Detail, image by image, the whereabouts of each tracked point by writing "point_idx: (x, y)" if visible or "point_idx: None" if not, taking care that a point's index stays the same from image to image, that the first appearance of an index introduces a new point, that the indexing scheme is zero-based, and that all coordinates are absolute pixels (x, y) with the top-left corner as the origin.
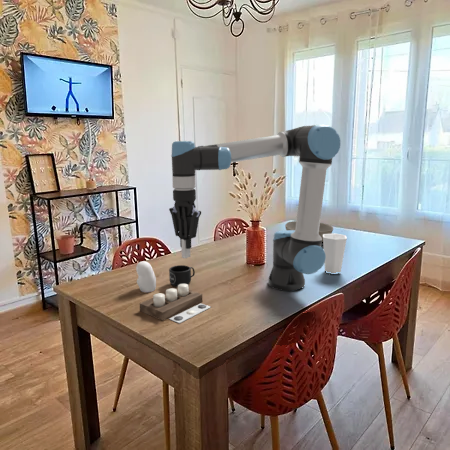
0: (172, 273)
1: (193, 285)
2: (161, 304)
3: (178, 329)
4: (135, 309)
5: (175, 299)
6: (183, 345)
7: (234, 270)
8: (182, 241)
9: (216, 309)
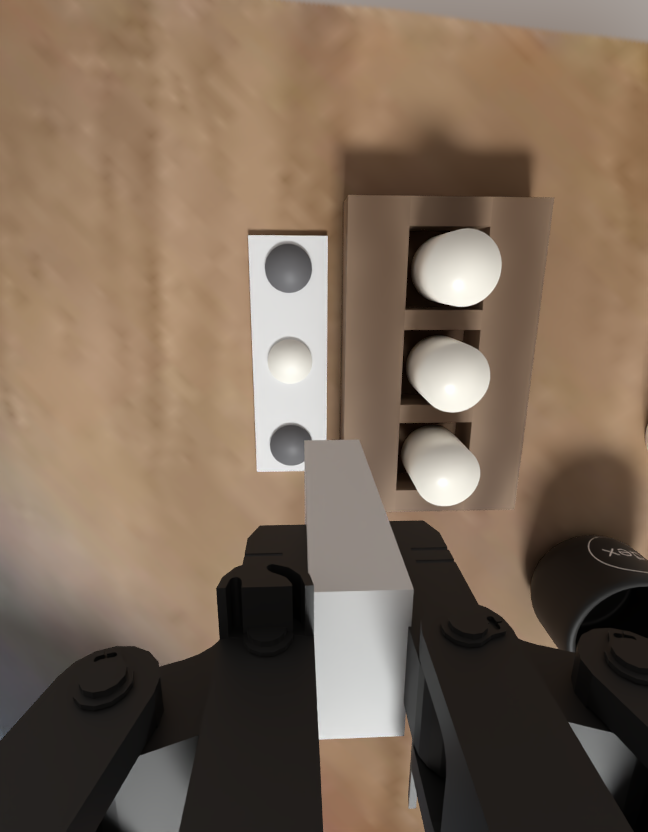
0: (634, 571)
1: (509, 603)
2: (418, 256)
3: (204, 181)
4: (567, 204)
5: (409, 368)
6: (49, 61)
7: None
8: (369, 563)
9: (221, 471)
